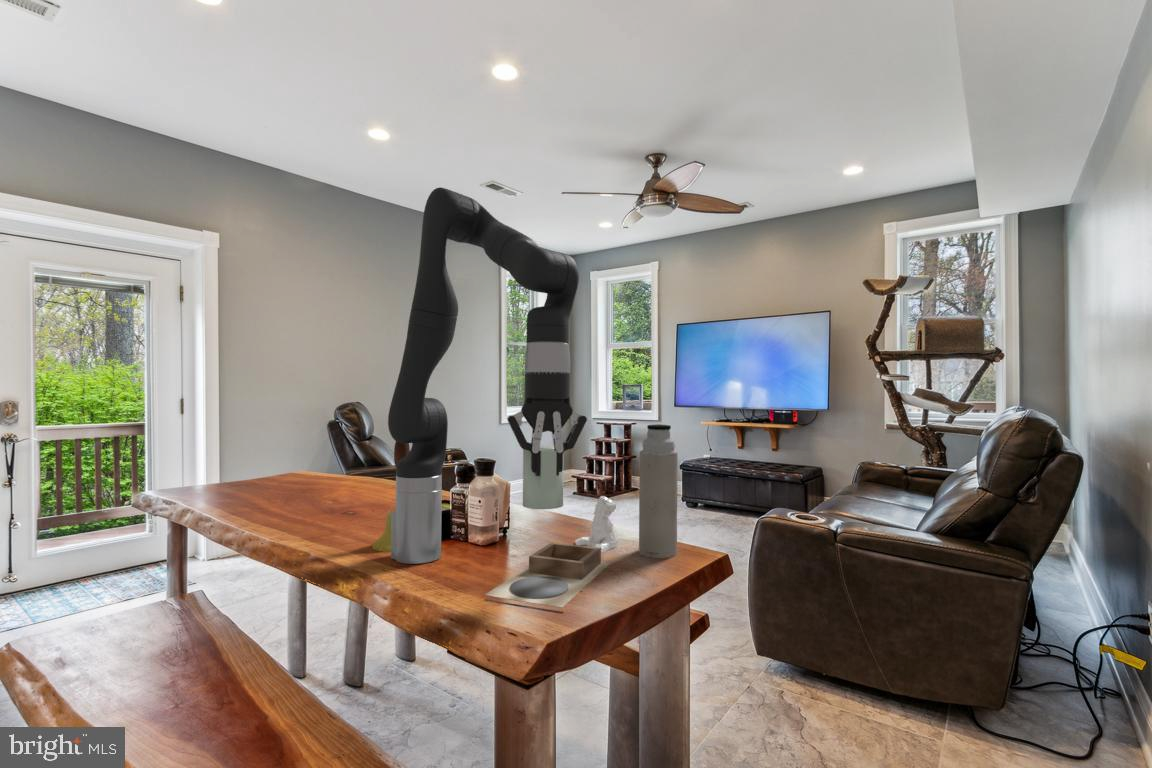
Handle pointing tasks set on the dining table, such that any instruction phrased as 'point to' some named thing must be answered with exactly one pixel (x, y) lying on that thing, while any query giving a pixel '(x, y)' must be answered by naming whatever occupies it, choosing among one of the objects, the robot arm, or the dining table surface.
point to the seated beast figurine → (601, 527)
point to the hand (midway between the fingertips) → (546, 474)
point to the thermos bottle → (658, 494)
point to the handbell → (385, 539)
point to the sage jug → (542, 481)
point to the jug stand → (552, 576)
